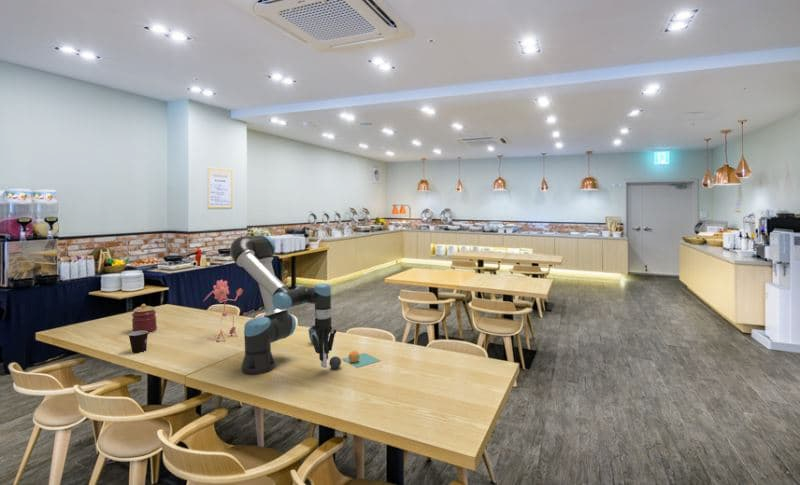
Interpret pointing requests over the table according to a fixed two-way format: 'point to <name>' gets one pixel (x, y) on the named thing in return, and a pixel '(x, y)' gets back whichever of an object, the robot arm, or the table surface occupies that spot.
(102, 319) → the table surface
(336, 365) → the black ball
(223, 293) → the pink stick figure
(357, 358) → the orange ball
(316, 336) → the flower pot
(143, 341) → the coffee mug
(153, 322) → the canister
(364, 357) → the teal mark
